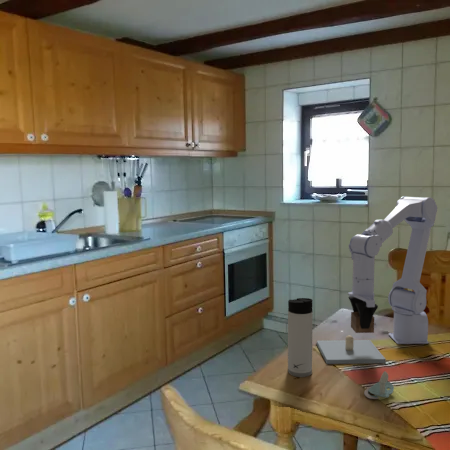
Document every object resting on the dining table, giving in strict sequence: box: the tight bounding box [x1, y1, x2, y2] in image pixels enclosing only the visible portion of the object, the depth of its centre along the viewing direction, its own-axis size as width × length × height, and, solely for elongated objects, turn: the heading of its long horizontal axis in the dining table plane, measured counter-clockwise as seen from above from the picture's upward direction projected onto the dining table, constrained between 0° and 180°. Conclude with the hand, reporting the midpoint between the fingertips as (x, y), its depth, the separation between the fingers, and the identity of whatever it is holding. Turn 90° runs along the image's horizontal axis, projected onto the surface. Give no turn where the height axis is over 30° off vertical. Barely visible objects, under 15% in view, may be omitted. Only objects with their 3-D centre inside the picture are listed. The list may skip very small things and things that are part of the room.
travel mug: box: [287, 297, 314, 378], centre depth 120 cm, size 6×7×20 cm
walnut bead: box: [350, 311, 375, 334], centre depth 130 cm, size 5×5×4 cm
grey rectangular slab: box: [316, 334, 387, 365], centre depth 133 cm, size 16×14×5 cm
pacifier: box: [364, 370, 395, 400], centre depth 108 cm, size 7×6×6 cm
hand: (362, 324), depth 130 cm, fingers closed on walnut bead, 5 cm apart
